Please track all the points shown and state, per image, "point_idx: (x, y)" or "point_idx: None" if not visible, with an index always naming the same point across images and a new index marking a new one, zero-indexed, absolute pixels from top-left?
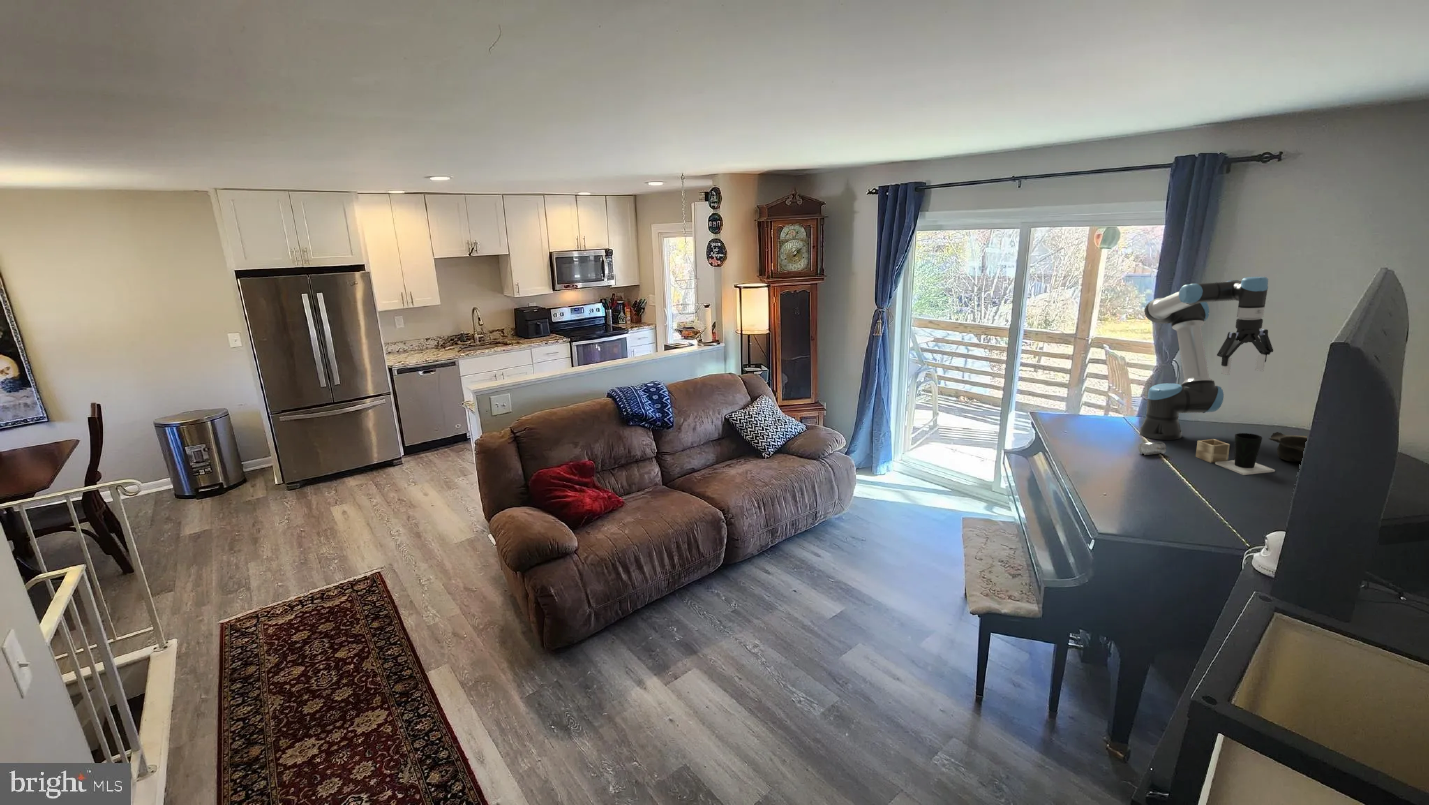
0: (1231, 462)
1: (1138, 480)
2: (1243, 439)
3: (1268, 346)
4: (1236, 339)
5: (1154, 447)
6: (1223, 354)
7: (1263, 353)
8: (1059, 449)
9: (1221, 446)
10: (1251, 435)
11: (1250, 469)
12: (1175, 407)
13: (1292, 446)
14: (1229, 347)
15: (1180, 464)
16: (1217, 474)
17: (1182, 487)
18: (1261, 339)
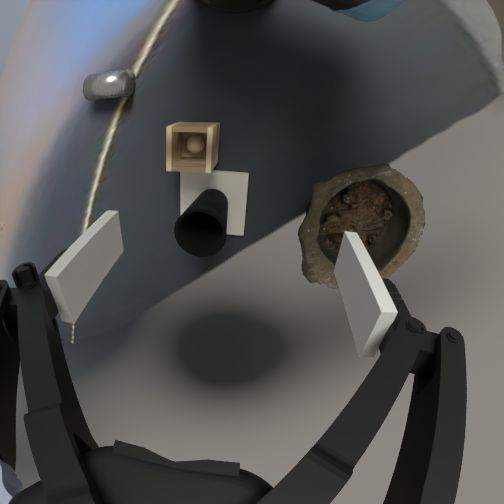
0: (206, 181)
1: (37, 199)
2: (178, 240)
3: (410, 411)
4: (53, 455)
5: (101, 97)
6: (9, 331)
7: (384, 348)
8: (14, 45)
9: (189, 171)
10: (220, 223)
11: None
12: None
13: (300, 242)
14: (11, 384)
15: (122, 152)
16: (145, 212)
17: (72, 238)
18: (422, 458)
